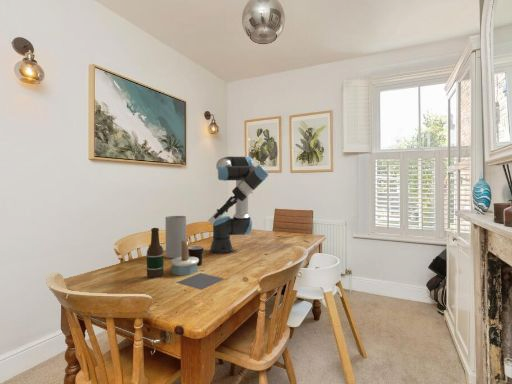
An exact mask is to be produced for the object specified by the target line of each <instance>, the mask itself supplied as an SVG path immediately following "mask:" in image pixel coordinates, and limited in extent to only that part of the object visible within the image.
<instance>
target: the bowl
mask: <svg viewBox="0 0 512 384" xmlns="http://www.w3.org/2000/svg"><path fill="white" fill-rule="evenodd" d="M171 267H172V268H171V274H173V275H176V276H190V275H192V274H195V273H198V266H197V264H194V265H190V266H174V265H172V264H171Z"/></svg>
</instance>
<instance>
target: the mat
mask: <svg viewBox="0 0 512 384" xmlns="http://www.w3.org/2000/svg"><path fill="white" fill-rule="evenodd" d="M224 280H225V278H223V277H219V276H215V275H211V274H207V273H202V272H200V273H197V274H194V275H192V276H189V277H186V278H183V279H181V280H180V281H176V282H175V283H177V284H180V285H184V286H186V287H187V286H188V287H190V288H195V289H197V290H201V291H203V290H205V289H206V288H208V287H211V286H213V285H215V284H217V283H219V282H221V281H224Z"/></svg>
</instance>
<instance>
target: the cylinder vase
mask: <svg viewBox="0 0 512 384" xmlns="http://www.w3.org/2000/svg"><path fill="white" fill-rule="evenodd" d="M181 241H187V216H186V215H169V216H166V217H165V257H166V258H167V259H174V258H178V257H182V246H181Z"/></svg>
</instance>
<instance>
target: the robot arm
mask: <svg viewBox="0 0 512 384" xmlns="http://www.w3.org/2000/svg"><path fill="white" fill-rule="evenodd" d="M215 167H216V170H217V179H218V180H219V181H235V187H234V188H233V189H232V191H231V192H232V194H233V196H230V197H229V198H228V199H227V200H226V201H225V203H224V204H223V205H222V206H221V207H220V208H217V209H216V211H215V213H213V215H212V216H210V218H208V220H207V221H208V222H209V223H210V224H211V225H212V242H211V245H210V252H211V253H214V254H226V253H230V252H232V251H233V245H232V242H231V236H239V235H240V236H244V235H246V236H247V235H249V234H251V232H252V229H253V219H252V217H251V215H250V214H249V196H250V195H251V194H253V193H254V191H255V190H256V189H257V188H258V187H259V186H260V185H261V184H262V183H263V181H265V180H266V179H267V178H268V176H269V173H268V172H267V170H266V169H264V167H263V166H261V165H260V164H258V165H256V166H255V165H254V160H253V159H252V157H250V156H229V155H228V156H225V157H221V158H219V159H218V160H217V162H216V166H215ZM234 205H235V213H234V214H233V216H232V218H231V216H230V215H224V214H225V213H228V212H229V210H230V208H232V207H233V206H234Z"/></svg>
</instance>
